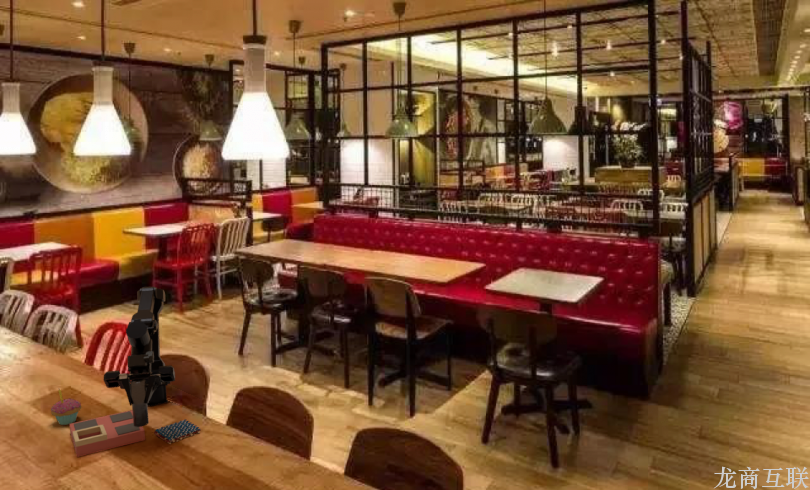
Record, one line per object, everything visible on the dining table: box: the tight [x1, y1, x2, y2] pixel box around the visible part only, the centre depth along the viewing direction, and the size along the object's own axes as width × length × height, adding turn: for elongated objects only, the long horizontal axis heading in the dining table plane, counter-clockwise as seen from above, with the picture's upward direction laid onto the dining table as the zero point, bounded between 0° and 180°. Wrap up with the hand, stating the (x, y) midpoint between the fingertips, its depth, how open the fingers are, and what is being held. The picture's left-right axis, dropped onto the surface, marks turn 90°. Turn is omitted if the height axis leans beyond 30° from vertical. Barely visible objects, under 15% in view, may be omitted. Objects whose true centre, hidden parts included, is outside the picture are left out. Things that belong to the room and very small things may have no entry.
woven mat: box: [153, 419, 201, 445], centre depth 185 cm, size 10×11×2 cm
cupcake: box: [50, 387, 82, 426], centre depth 193 cm, size 9×8×12 cm
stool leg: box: [130, 378, 150, 427], centre depth 175 cm, size 4×4×13 cm
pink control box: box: [69, 410, 146, 458], centre depth 183 cm, size 18×18×4 cm
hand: (138, 404), depth 174 cm, fingers closed on stool leg, 4 cm apart
